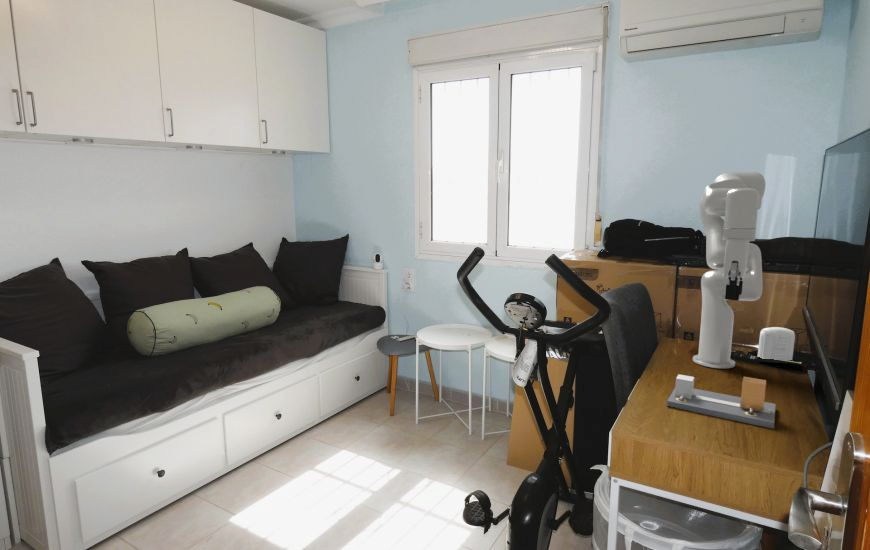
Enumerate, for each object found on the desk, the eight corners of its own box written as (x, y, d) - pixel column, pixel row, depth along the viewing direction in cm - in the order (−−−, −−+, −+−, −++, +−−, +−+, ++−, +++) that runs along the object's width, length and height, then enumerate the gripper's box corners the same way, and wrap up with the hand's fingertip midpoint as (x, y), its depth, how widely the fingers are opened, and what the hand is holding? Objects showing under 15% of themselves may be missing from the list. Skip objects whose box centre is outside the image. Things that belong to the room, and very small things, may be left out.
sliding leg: (741, 401, 135) (743, 376, 134) (763, 406, 132) (766, 380, 131) (739, 410, 129) (741, 384, 128) (762, 415, 126) (765, 388, 125)
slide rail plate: (676, 390, 149) (677, 368, 148) (774, 409, 135) (777, 385, 134) (666, 406, 137) (668, 383, 136) (773, 428, 124) (776, 403, 123)
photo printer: (787, 361, 175) (791, 326, 173) (794, 365, 170) (798, 329, 168) (754, 360, 176) (758, 325, 174) (760, 364, 172) (764, 328, 170)
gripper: (726, 232, 147) (721, 290, 150) (719, 236, 133) (714, 300, 136) (756, 233, 143) (751, 293, 146) (753, 237, 129) (747, 303, 132)
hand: (733, 296), depth 141 cm, fingers open, 9 cm apart
